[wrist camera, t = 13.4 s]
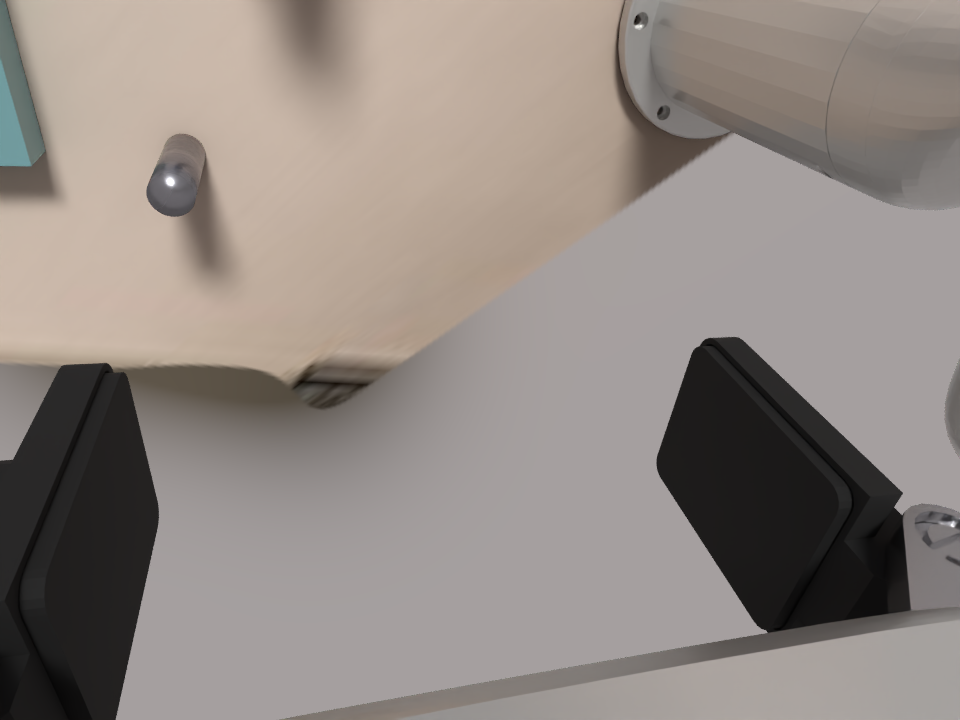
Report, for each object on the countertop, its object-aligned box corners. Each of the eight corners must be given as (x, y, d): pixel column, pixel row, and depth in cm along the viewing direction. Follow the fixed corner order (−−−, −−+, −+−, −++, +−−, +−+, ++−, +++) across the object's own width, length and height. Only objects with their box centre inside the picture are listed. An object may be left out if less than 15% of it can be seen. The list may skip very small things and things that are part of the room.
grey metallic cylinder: (202, 134, 34) (191, 173, 29) (208, 171, 35) (198, 216, 30) (161, 133, 34) (142, 173, 28) (167, 171, 35) (150, 216, 29)
